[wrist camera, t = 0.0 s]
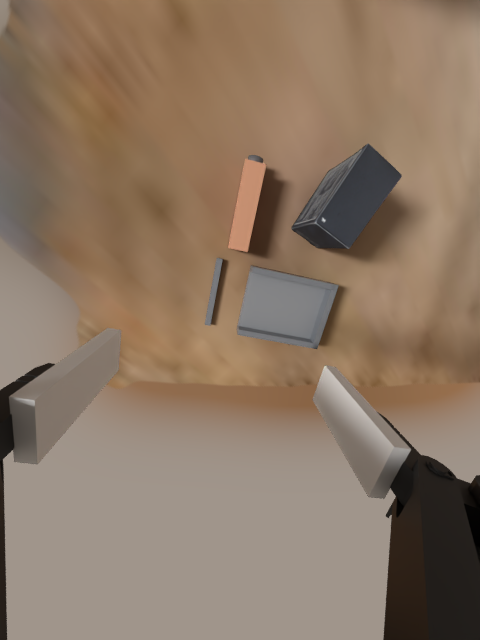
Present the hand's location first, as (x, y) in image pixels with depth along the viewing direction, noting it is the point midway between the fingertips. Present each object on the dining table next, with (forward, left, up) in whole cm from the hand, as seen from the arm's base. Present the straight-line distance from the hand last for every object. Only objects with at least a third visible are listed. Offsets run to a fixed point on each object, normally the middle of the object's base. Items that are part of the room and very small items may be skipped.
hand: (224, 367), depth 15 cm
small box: (-16, +14, -28) cm, 35 cm away
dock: (+1, +8, -28) cm, 29 cm away
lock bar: (-13, +1, -28) cm, 31 cm away
